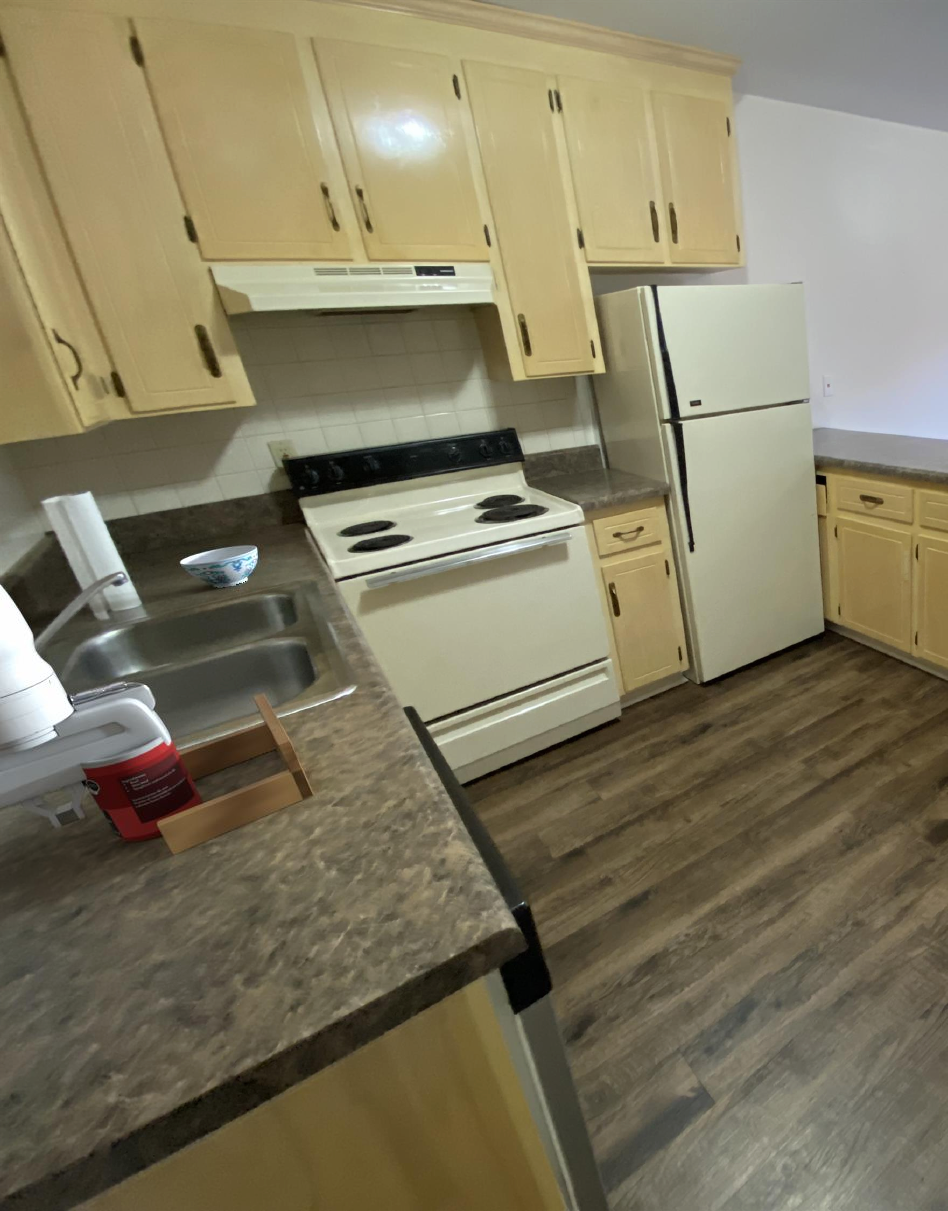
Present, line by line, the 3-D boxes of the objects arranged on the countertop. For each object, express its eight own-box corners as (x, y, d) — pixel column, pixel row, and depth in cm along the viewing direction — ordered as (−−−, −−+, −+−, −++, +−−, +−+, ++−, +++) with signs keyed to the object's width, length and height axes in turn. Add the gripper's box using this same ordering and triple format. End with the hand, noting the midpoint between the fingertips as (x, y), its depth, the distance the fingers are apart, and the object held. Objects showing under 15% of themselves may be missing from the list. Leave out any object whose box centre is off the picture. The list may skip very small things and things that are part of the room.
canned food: (141, 809, 81) (99, 733, 77) (218, 793, 83) (181, 718, 79) (100, 851, 74) (51, 770, 70) (184, 833, 76) (141, 753, 72)
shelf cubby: (173, 855, 73) (140, 796, 70) (161, 788, 85) (133, 735, 82) (313, 795, 81) (290, 740, 78) (284, 742, 93) (263, 692, 90)
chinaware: (282, 572, 173) (271, 544, 170) (229, 593, 159) (216, 563, 156) (233, 573, 175) (221, 546, 172) (176, 594, 161) (162, 565, 158)
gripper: (141, 666, 76) (191, 765, 82) (-146, 746, 63) (-64, 858, 68) (144, 683, 72) (196, 786, 77) (-163, 771, 59) (-75, 888, 64)
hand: (72, 820), depth 73 cm, fingers closed
